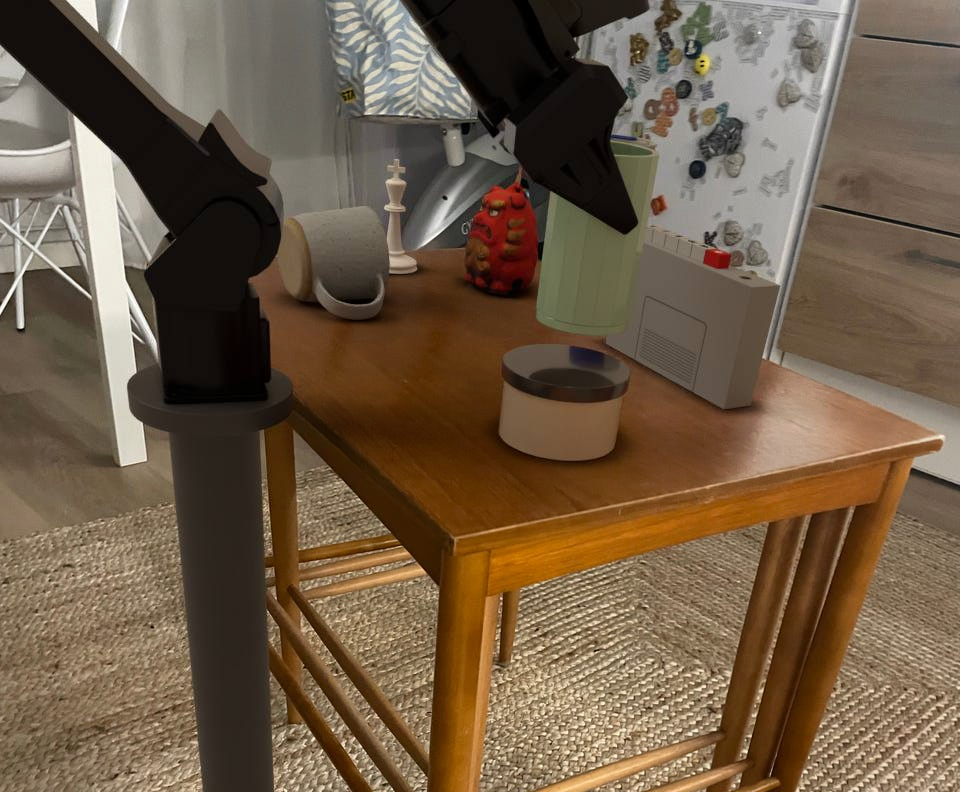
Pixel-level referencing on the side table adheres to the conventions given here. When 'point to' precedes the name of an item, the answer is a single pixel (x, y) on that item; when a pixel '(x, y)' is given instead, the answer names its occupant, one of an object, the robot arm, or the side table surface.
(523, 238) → the red clay folk toy
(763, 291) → the cassette player
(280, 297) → the side table surface
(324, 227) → the ceramic mug
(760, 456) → the side table surface
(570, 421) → the jar
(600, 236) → the cup
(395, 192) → the chess piece
